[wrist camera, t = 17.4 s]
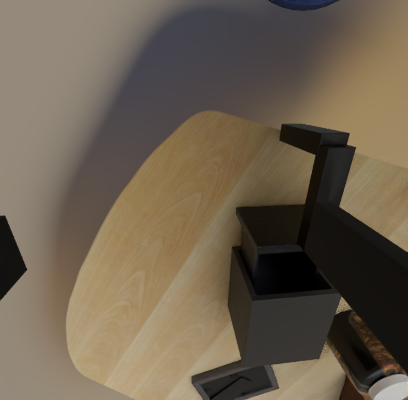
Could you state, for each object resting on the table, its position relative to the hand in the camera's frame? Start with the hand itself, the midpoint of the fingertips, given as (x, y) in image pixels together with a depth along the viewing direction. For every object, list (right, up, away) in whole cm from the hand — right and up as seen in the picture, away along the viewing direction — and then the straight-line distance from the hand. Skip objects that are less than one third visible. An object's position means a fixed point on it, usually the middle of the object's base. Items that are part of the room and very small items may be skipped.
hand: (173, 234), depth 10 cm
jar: (+38, -31, +49) cm, 69 cm away
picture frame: (+10, -49, +53) cm, 73 cm away
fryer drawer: (+14, 0, +30) cm, 34 cm away
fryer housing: (+14, -15, +38) cm, 43 cm away
